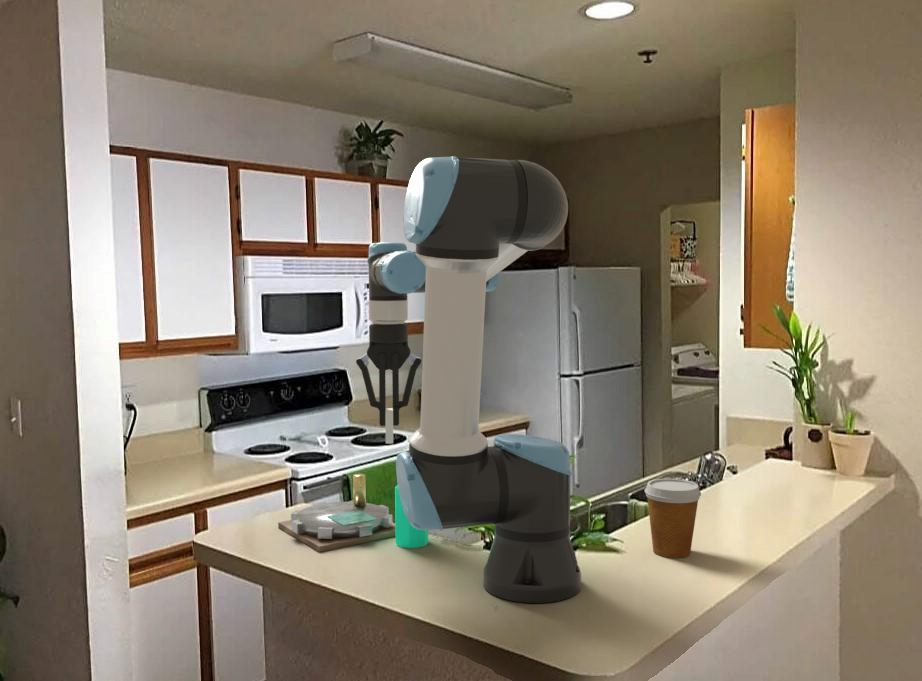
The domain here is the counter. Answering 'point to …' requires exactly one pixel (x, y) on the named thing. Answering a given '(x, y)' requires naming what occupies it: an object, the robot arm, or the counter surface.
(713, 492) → the counter surface
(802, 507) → the counter surface
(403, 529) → the candle
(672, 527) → the disposable coffee cup
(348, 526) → the turntable
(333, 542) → the base board
